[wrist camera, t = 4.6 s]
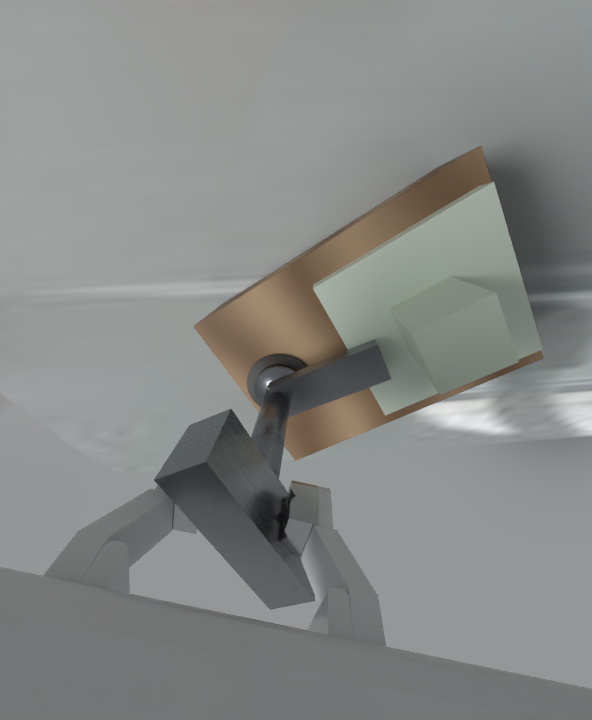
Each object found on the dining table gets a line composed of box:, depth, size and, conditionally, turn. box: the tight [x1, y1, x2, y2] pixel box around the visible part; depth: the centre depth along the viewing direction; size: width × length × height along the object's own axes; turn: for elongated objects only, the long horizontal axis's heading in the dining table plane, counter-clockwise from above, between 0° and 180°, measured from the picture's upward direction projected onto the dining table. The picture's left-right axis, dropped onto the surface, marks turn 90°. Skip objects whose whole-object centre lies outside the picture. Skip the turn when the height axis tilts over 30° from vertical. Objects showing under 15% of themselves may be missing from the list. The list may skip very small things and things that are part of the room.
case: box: [194, 146, 543, 461], centre depth 19 cm, size 17×12×5 cm
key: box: [154, 339, 392, 609], centre depth 13 cm, size 8×7×10 cm
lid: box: [313, 182, 543, 416], centre depth 14 cm, size 9×9×5 cm
